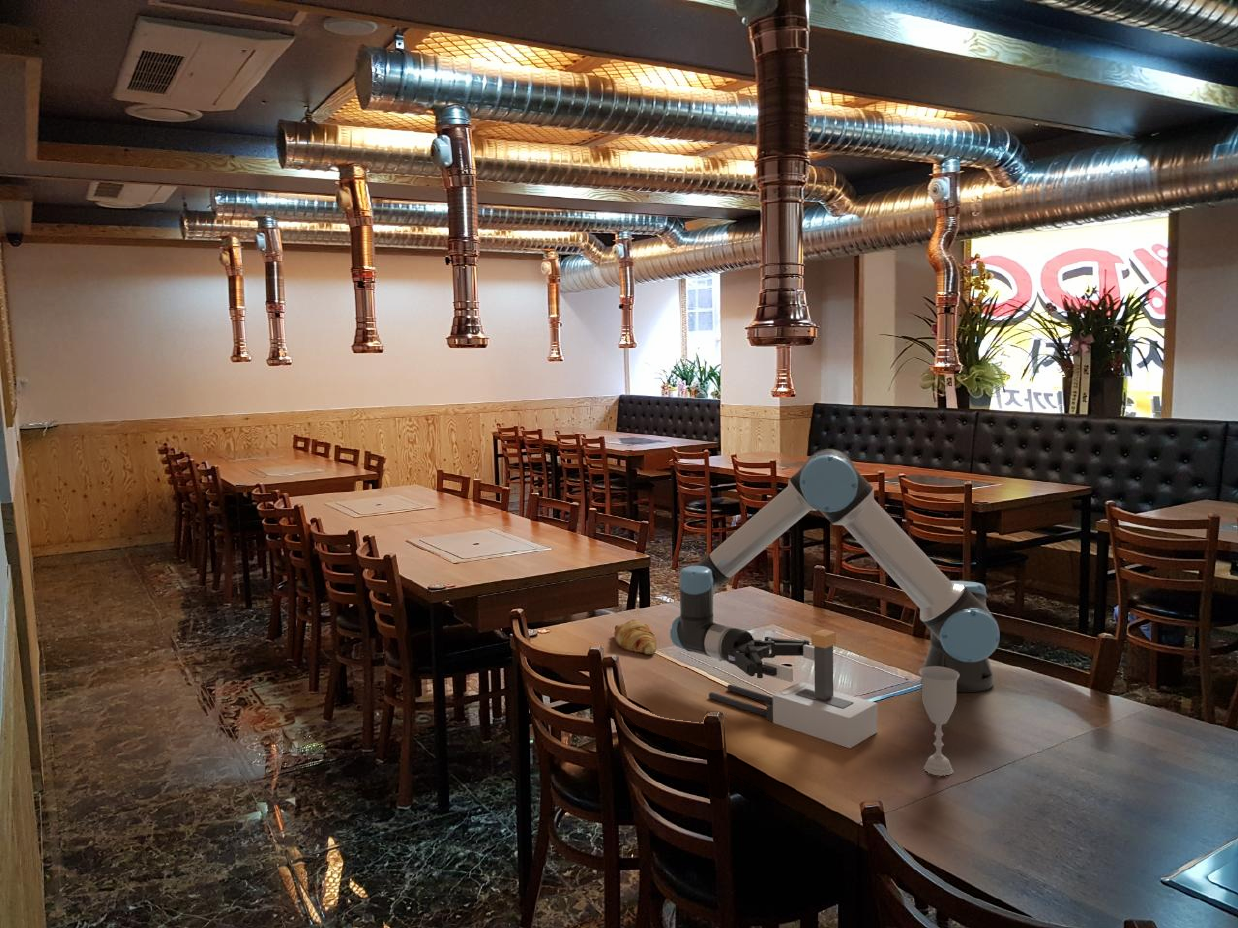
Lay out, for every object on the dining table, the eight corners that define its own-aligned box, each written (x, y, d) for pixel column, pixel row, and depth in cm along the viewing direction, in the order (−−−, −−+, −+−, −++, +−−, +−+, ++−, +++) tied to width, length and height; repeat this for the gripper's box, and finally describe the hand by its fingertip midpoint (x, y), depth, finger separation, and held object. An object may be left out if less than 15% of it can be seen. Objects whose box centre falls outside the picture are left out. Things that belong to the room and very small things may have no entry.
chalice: (962, 780, 153) (963, 681, 151) (921, 778, 154) (921, 679, 152) (954, 761, 160) (955, 666, 158) (915, 759, 161) (916, 665, 159)
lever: (811, 697, 176) (811, 633, 175) (822, 691, 179) (822, 629, 177) (825, 701, 174) (825, 636, 172) (836, 695, 176) (835, 632, 175)
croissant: (663, 668, 225) (676, 639, 226) (633, 656, 220) (645, 627, 221) (625, 644, 244) (637, 617, 245) (596, 633, 239) (608, 606, 240)
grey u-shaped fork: (705, 699, 194) (705, 687, 194) (731, 688, 200) (731, 677, 200) (774, 722, 180) (774, 709, 180) (799, 709, 186) (799, 697, 186)
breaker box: (773, 722, 180) (772, 693, 179) (801, 708, 187) (801, 680, 186) (850, 748, 167) (849, 717, 166) (877, 732, 174) (877, 702, 173)
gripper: (765, 647, 201) (845, 668, 186) (692, 675, 184) (774, 701, 169) (764, 615, 201) (845, 633, 185) (691, 641, 184) (774, 663, 168)
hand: (811, 666), depth 177 cm, fingers open, 13 cm apart
